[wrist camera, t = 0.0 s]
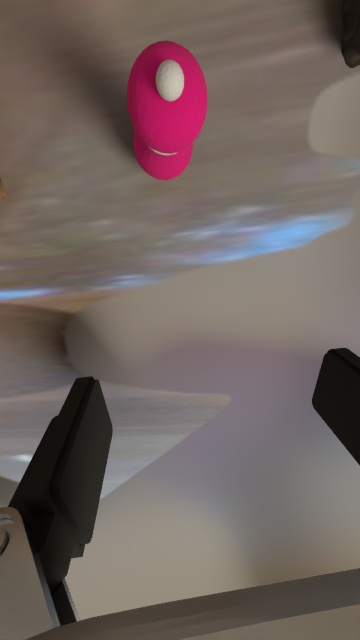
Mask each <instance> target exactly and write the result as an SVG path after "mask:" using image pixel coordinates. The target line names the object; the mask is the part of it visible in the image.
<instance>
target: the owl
mask: <svg viewBox="0 0 360 640" xmlns="http://www.w3.org/2000/svg"><path fill="white" fill-rule="evenodd" d="M342 17H343V22H344V35H343V39H342V54H343V57H344V60H345V63H346V64H347V66H349V67H350V68H354V67H356V66H358V65H360V0H344V5H343V10H342Z"/></svg>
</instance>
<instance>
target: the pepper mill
mask: <svg viewBox="0 0 360 640" xmlns="http://www.w3.org/2000/svg"><path fill="white" fill-rule="evenodd" d="M127 102H128V110H129V114H130V118H131V121H132V124H133V126H134V128H135V129H134V136H133V143H134V151H135V155H136V158H137V160H138V162H139V164H140V165H141V167H142V168H143V169H144V171H145V172H146V173H148V174H149V175H150V176H152V177H154V178H156V179H160V180H169V179H172V178H175V177H177V176H178V175H180V174H181V173H182V172H183V171H184V170H185V168H186V167H187V165H188V163H189V161H190V158H191V154H192V148H193V141H194V140H195V139H196V138H197V136H198V134H199V133H200V131H201V129H202V126H203V124H204V120H205V116H206V110H207V88H206V83H205V79H204V75H203V73H202V70H201V68H200V66H199V64H198V62H197V61H196V59H195V57H194V56H193V55H192V54H191V53H190V52H189V51H188V50H187V49H186V48H184V47H183V46H181V45H179V44H177V43H174V42H170V41H159V42H156V43H154V44H152V45H150V46H148V47H147V48H146V49H144V50H143V51H142V52H141V54H140V55H139V56H138V58H137V59H136V61H135V62H134V65H133V67H132V69H131V72H130V76H129V80H128V87H127Z"/></svg>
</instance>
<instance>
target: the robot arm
mask: <svg viewBox="0 0 360 640" xmlns="http://www.w3.org/2000/svg"><path fill="white" fill-rule="evenodd" d="M312 404H313V407H314V409H315V410H316V411H317V413H318V414H319V415H320V416H321V417H322V419H323V420H324V421H325V423H326V424H327V425H328V426H329V427H330V429H331V430H332V431H333V433H334V434H335V435H336V436H337V438H338V439H339V440H340V441H341V443H342V444H343V445H344V446H345V447H346V449H347V450H348V451H349V452H350V454H351V455H352V456H353V457H354V459H355V460H356V461H357V463H358V464H359V465H360V357H358V356H357V355H356V354H354V353H353V352H351V351H350V350H349V349H347V348H338V349H331V350H329V351H328V352H327V354H325V355H324V358H323V362H322V365H321V369H320V372H319V376H318V380H317V383H316V387H315V390H314V394H313V398H312ZM111 438H112V423H111V420H110V417H109V413H108V410H107V406H106V403H105V400H104V396H103V393H102V390H101V386H100V383H99V380H94V378H93V377H92V376H91V377H82V378H77V379H76V380H75V382H74V384H73V386H72V388H71V390H70V392H69V394H68V396H67V398H66V400H65V403H64V405H63V407H62V409H61V411H60V413H59V415H58V416H55V417H54V418H53V419H52V420H51V422H50V424H49V426H48V428H47V430H46V432H45V434H44V436H43V438H42V440H41V442H40V444H39V446H38V448H37V450H36V452H35V454H34V456H33V458H32V460H31V462H30V464H29V466H28V468H27V470H26V472H25V473H24V475H23V477H22V479H21V481H20V483H19V485H18V487H17V489H16V491H15V493H14V496H13V498H12V500H11V501H10V503H9V506H8V507H1V508H0V640H360V568H358V569H352V570H346V571H340V572H335V573H329V574H323V575H317V576H312V577H306V578H301V579H295V580H289V581H284V582H278V583H272V584H266V585H260V586H255V587H249V588H244V589H238V590H233V591H227V592H222V593H217V594H211V595H205V596H199V597H194V598H188V599H183V600H177V601H172V602H166V603H161V604H156V605H151V606H146V607H141V608H136V609H131V610H127V611H121V612H117V613H112V614H107V615H102V616H97V617H92V618H89V619H85V620H81V621H80V618H79V616H78V613H77V610H76V608H75V605H74V602H73V599H72V597H71V594H70V592H69V588H68V586H67V584H66V581H65V576H66V575H67V573H68V569H69V565H70V561H71V558H76V557H82V556H83V552H84V548H85V544H87V543H90V541H91V538H92V535H93V530H94V524H95V519H96V514H97V509H98V504H99V499H100V494H101V489H102V484H103V479H104V474H105V469H106V464H107V459H108V454H109V448H110V443H111Z"/></svg>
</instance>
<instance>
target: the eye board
mask: <svg viewBox="0 0 360 640" xmlns="http://www.w3.org/2000/svg"><path fill="white" fill-rule="evenodd" d="M0 197H7V195H6V192H5V190H4V187H3V184H2V181H1V179H0Z"/></svg>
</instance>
